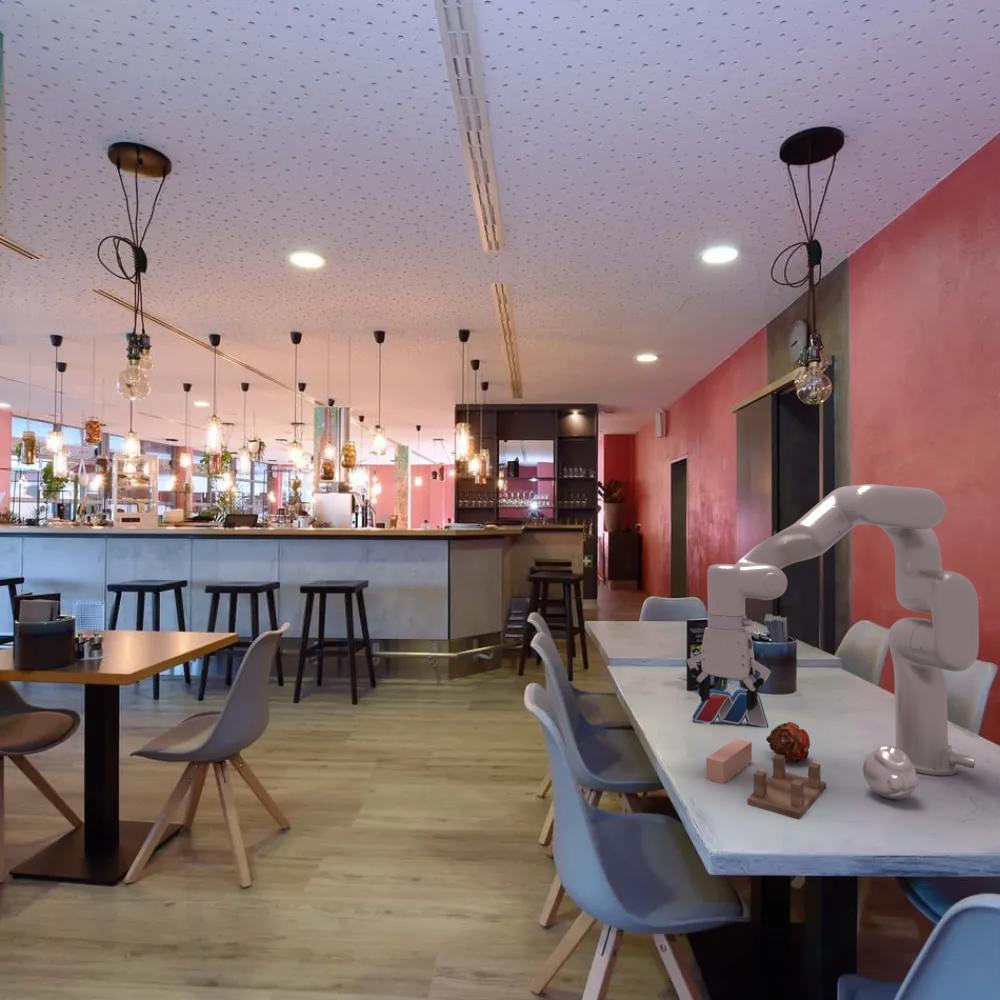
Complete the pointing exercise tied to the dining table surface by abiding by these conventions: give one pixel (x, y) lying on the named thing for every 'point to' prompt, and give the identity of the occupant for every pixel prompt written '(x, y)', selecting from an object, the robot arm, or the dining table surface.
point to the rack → (786, 789)
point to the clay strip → (728, 760)
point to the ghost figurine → (890, 772)
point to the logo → (730, 709)
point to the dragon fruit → (789, 741)
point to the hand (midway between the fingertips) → (727, 704)
